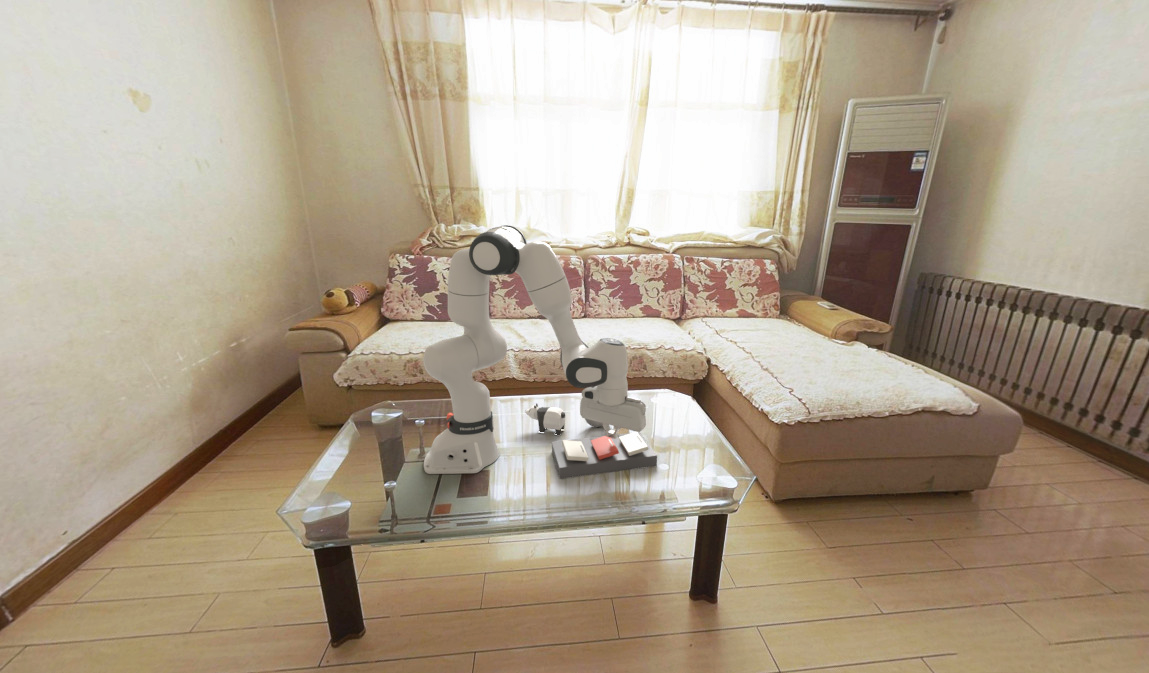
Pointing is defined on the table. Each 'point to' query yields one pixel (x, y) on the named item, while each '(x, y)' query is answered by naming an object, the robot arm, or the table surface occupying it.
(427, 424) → the table surface
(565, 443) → the rocker left
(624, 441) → the rocker right
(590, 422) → the donut
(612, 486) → the table surface
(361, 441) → the table surface
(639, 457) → the rocker switch panel
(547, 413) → the giant panda
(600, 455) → the rocker middle
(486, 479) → the table surface
